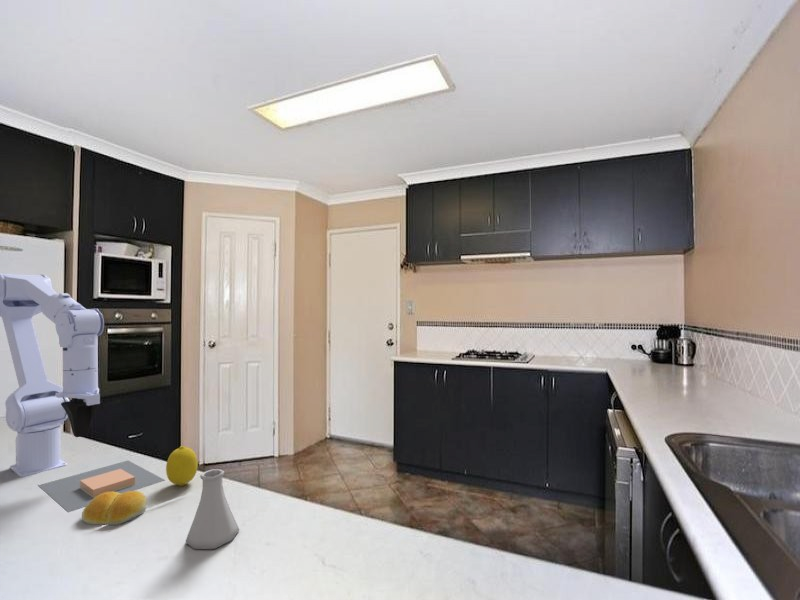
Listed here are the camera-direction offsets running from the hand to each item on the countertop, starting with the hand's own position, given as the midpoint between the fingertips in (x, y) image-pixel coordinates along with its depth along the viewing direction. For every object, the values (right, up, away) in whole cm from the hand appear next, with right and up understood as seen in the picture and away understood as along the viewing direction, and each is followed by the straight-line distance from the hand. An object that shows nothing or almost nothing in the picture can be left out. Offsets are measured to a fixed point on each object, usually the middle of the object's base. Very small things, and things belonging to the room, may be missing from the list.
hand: (81, 435), depth 86 cm
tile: (+5, -8, -1) cm, 10 cm away
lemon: (+22, -10, -3) cm, 24 cm away
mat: (+5, -9, -1) cm, 11 cm away
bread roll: (+16, -10, -13) cm, 23 cm away
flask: (+36, -9, -21) cm, 42 cm away
